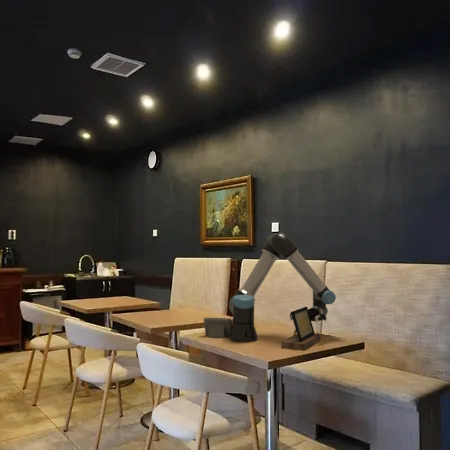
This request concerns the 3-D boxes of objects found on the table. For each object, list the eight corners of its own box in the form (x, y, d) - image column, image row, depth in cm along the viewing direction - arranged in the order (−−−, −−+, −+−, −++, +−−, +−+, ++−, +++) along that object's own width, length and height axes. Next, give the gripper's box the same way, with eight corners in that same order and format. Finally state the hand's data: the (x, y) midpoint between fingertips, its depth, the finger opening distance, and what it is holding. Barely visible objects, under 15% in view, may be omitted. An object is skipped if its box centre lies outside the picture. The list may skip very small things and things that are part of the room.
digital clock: (234, 336, 246) (234, 317, 247) (227, 339, 238) (227, 319, 239) (208, 334, 253) (208, 315, 254) (201, 336, 245) (201, 317, 246)
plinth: (281, 347, 217) (281, 341, 217) (299, 338, 241) (299, 332, 242) (304, 350, 211) (304, 344, 211) (320, 340, 236) (320, 334, 236)
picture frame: (301, 341, 216) (298, 311, 217) (284, 342, 220) (281, 312, 221) (315, 334, 236) (311, 306, 238) (299, 334, 240) (295, 307, 242)
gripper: (336, 322, 242) (326, 327, 223) (293, 318, 254) (280, 324, 235) (336, 308, 242) (326, 313, 224) (293, 305, 254) (280, 310, 235)
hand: (303, 318), depth 229 cm, fingers open, 13 cm apart
